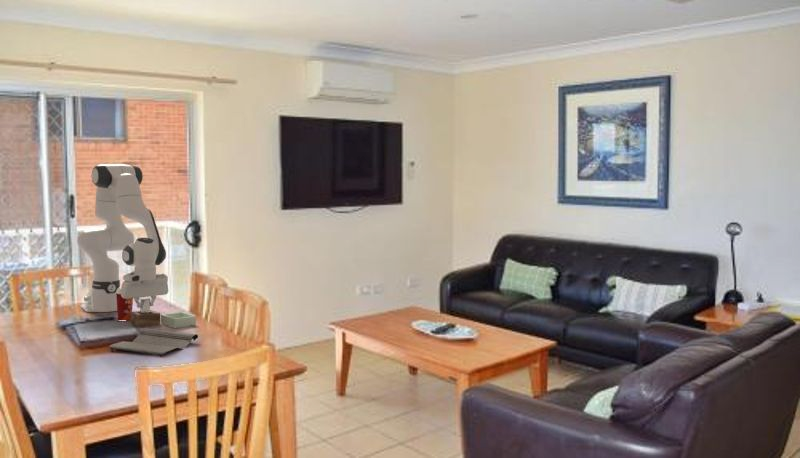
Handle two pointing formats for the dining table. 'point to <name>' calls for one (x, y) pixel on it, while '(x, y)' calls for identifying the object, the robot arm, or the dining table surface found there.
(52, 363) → the dining table surface
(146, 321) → the socket block
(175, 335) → the mat
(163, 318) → the tray
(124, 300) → the paper cup
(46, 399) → the dining table surface
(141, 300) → the steel pin
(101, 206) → the robot arm
